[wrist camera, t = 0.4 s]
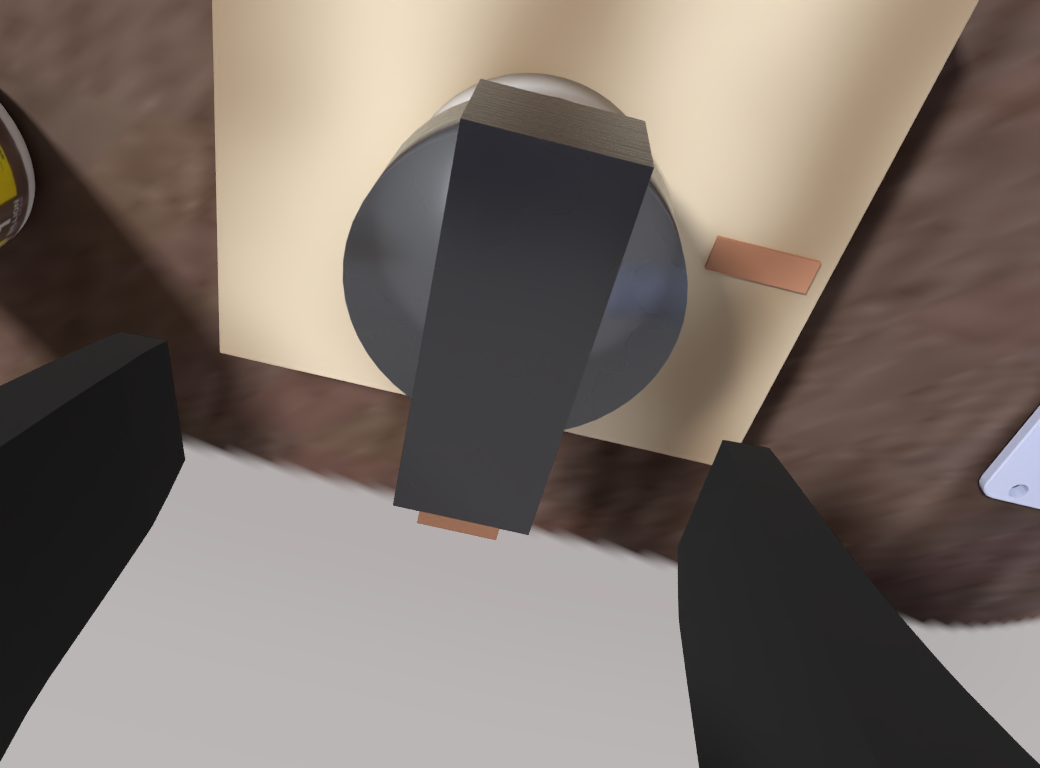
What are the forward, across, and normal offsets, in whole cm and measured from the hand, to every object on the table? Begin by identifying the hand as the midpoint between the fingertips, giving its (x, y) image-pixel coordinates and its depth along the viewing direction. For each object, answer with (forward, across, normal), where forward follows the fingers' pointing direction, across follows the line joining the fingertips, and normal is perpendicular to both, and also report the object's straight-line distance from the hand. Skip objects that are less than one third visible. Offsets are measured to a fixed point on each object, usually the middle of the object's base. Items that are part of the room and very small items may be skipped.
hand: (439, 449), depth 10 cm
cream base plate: (+10, 0, 0) cm, 10 cm away
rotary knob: (+6, 0, 0) cm, 6 cm away
